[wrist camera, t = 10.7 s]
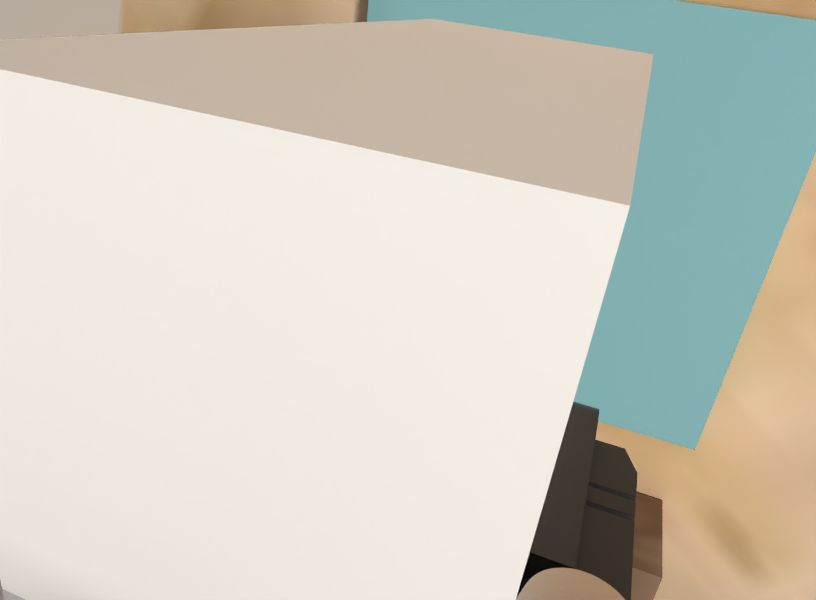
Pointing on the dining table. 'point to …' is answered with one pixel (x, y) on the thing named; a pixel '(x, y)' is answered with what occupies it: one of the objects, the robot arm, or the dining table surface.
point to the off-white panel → (298, 303)
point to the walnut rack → (647, 548)
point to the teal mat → (681, 188)
